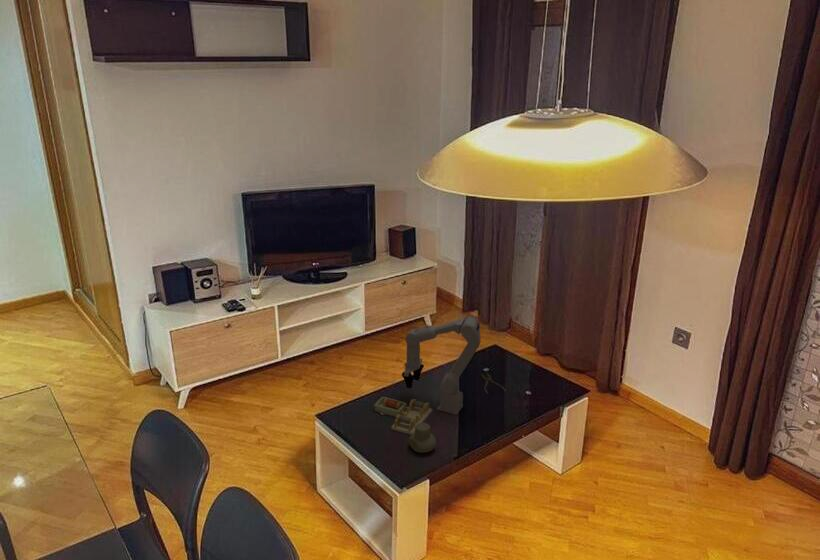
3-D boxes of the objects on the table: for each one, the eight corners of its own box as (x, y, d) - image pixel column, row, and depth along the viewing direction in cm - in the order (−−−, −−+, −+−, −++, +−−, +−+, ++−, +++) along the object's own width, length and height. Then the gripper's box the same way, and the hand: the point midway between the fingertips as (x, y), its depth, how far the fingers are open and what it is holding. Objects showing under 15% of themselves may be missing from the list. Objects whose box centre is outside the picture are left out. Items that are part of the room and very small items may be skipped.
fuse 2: (428, 407, 267) (428, 401, 265) (425, 411, 265) (425, 406, 263) (412, 402, 270) (412, 397, 268) (409, 407, 268) (409, 402, 266)
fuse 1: (414, 424, 255) (415, 417, 255) (411, 426, 253) (412, 420, 252) (398, 420, 258) (399, 413, 258) (395, 422, 256) (396, 415, 255)
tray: (406, 408, 271) (406, 402, 270) (398, 417, 264) (398, 411, 263) (382, 402, 275) (382, 396, 274) (373, 411, 269) (373, 405, 268)
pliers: (489, 395, 281) (469, 375, 299) (489, 396, 282) (469, 376, 299) (508, 391, 285) (486, 371, 302) (508, 392, 285) (486, 373, 303)
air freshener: (438, 451, 242) (439, 429, 238) (421, 458, 238) (421, 436, 234) (423, 438, 250) (423, 416, 247) (406, 444, 246) (406, 422, 243)
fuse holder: (432, 411, 269) (432, 402, 267) (412, 435, 252) (412, 426, 250) (412, 406, 273) (412, 397, 271) (391, 429, 256) (391, 420, 254)
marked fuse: (399, 410, 269) (401, 405, 271) (397, 406, 267) (400, 401, 269) (383, 406, 272) (386, 401, 274) (382, 402, 270) (385, 397, 272)
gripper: (412, 347, 276) (411, 374, 280) (397, 361, 263) (397, 389, 268) (426, 350, 273) (425, 378, 277) (412, 364, 260) (412, 392, 265)
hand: (412, 383), depth 272 cm, fingers open, 7 cm apart
